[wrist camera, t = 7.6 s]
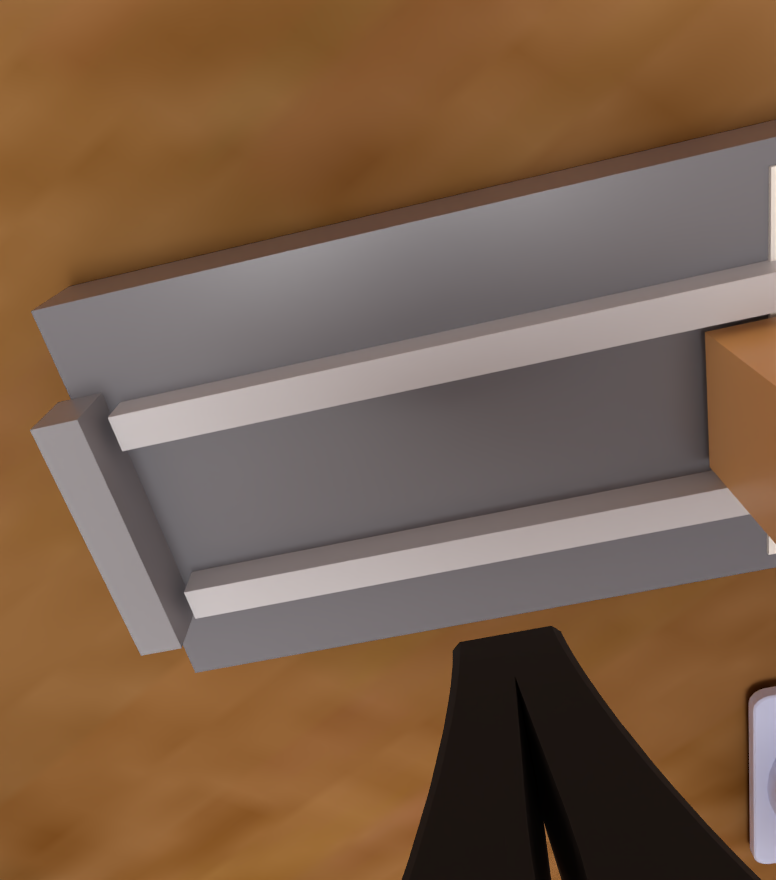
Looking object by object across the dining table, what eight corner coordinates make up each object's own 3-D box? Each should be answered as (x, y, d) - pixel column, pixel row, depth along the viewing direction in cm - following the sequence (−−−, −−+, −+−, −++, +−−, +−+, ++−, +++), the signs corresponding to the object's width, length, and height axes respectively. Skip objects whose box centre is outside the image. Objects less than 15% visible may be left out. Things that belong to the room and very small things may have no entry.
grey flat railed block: (1108, 40, 15) (1301, 29, 12) (1028, 468, 19) (1153, 542, 16) (56, 289, 17) (-17, 336, 14) (201, 623, 21) (170, 716, 18)
